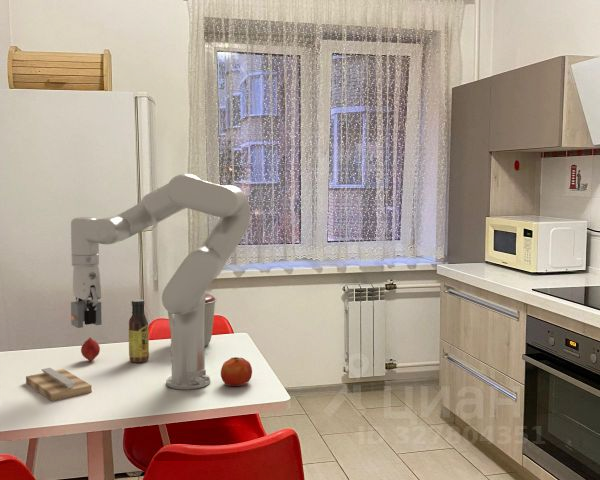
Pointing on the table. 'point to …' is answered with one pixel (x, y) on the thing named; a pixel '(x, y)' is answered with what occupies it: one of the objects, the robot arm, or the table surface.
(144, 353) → the sauce bottle
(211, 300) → the canister
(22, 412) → the table surface
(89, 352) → the red oval fruit
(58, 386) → the mounting board
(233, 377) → the tomato
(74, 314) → the block
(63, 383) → the rail
